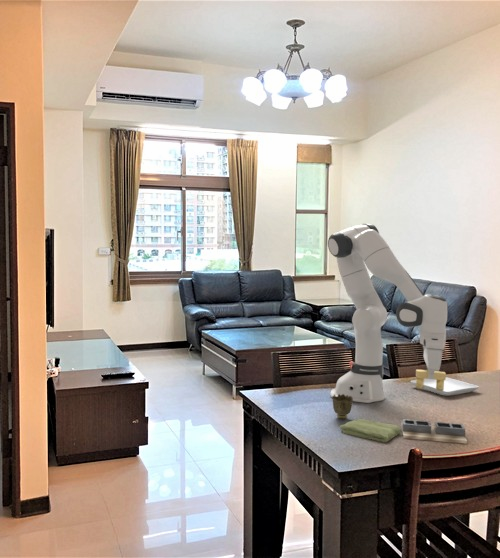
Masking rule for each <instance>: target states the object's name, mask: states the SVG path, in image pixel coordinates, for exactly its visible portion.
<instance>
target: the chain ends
mask: <svg viewBox="0 0 500 558" xmlns="http://www.w3.org/2000/svg"><path fill="white" fill-rule="evenodd" d="M401 423H402V427H401V430H402V429H403V431H405V432H417V433H428V434H431V425H432V423H431V421H428V420H417V419H415V420H414V419H406V418H405V419H403V418H402V419H401ZM434 429H435V432H436V434H439V435H451V436H462V437H465V438H466V428H465V425H464V424H463V423H453V422H441V421H434Z"/></svg>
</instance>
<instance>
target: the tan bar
mask: <svg viewBox="0 0 500 558" xmlns="http://www.w3.org/2000/svg"><path fill="white" fill-rule="evenodd" d="M428 373H429V371H428V370H427V369H415V380H416V386H415V389H418V390H424V389H423V386H424V379H429V378H428ZM446 377H447V373H446V372H445V371H440V370H439V371H435V372H434V379H435V380H437V381H436V390H438V391H443V390H444V380H445V378H446Z"/></svg>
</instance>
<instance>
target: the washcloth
mask: <svg viewBox="0 0 500 558" xmlns="http://www.w3.org/2000/svg"><path fill="white" fill-rule="evenodd" d="M339 429H340V430H341V431H342V433H343V434H345V435H346V434H347V435H350V436H355V437H359V438H363V439H368V440H371V439H372V440H371V441H376V440H377V442H380V441H382V442H381V443H388V442H389V441H391V440H392V439H393V438H394V437H397V436H399V435H400V434H402V429H401V428H400V426H399V425H396V424H390V423H389V424H388V423H384V422H379V421H375V420H373V421H372V420H370V419H369V420H368V419H364V418H357V419H354V420H351V421H348V422H346V423H345V424H340V426H339Z"/></svg>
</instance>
